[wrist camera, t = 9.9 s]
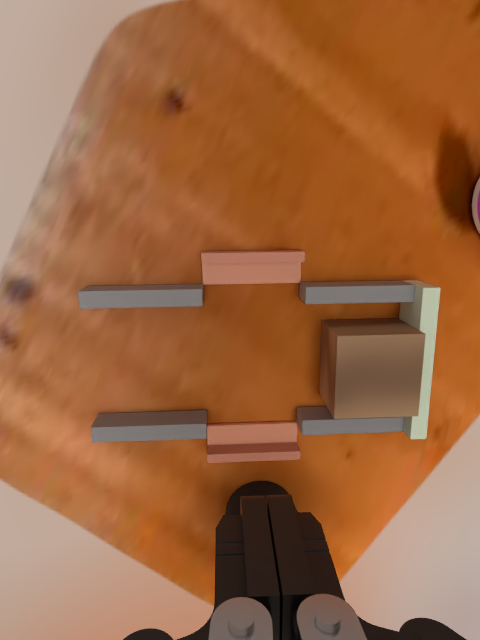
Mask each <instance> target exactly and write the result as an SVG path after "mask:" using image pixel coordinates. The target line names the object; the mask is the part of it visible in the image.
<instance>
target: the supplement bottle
mask: <svg viewBox="0 0 480 640" xmlns="http://www.w3.org/2000/svg"><path fill="white" fill-rule="evenodd" d="M472 214H473V219H474V223H475V226H476V228H477V230H478V232H479V234H480V177H479V179H478V181H477V184H476V187H475V190H474V194H473V199H472Z"/></svg>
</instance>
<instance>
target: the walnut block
mask: <svg viewBox="0 0 480 640" xmlns="http://www.w3.org/2000/svg"><path fill="white" fill-rule="evenodd" d="M425 336H426V334H425V333H423V332H421V331H420V330H418V329H416V328H415V327H413V326H411V325H409V324H408V323H406V322H404V321H402V320H401V319H399V318H381V319H336V320H321V349H320V379H319V394H320V396H321V397H322V399H323V401H324V402H325V404H326V406H327V408H328V409H329V411H330V413H331V415H332V416H333V418H334V419H350V418H380V417H409V416H418V414H419V403H420V391H421V380H422V369H423V358H424V347H425Z"/></svg>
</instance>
